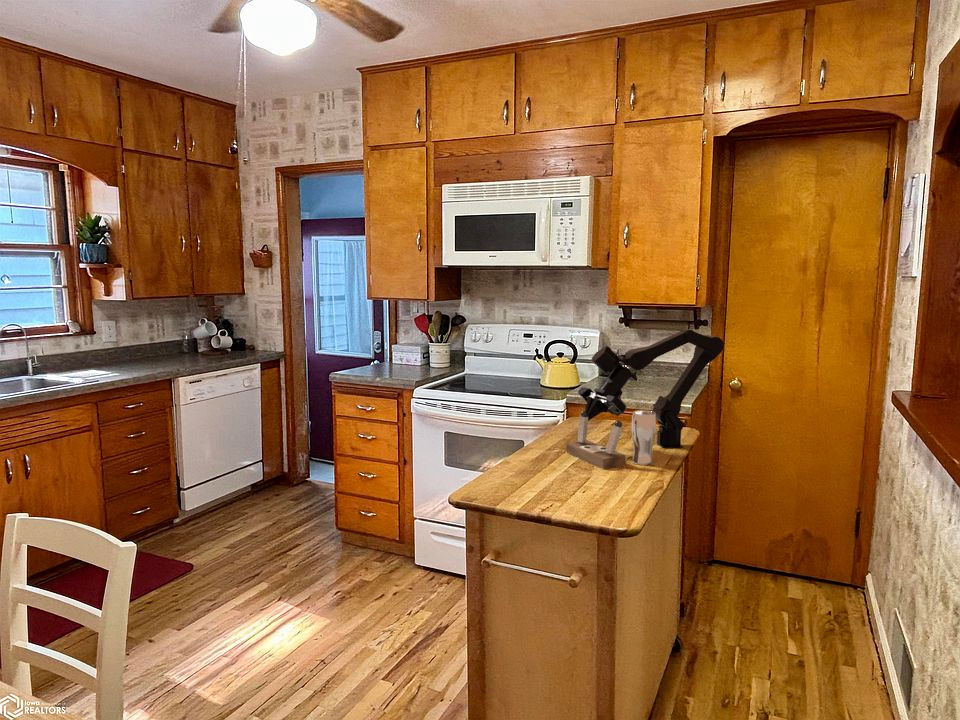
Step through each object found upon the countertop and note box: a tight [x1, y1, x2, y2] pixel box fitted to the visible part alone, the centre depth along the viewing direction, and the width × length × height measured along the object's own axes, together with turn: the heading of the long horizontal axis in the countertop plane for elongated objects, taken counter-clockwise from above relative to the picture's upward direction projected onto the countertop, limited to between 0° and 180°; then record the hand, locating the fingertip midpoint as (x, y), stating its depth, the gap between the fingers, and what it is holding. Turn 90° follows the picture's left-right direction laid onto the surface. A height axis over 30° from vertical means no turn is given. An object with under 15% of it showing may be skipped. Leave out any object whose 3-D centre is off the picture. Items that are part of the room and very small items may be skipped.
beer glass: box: [631, 409, 657, 466], centre depth 191 cm, size 7×7×15 cm
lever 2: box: [605, 420, 623, 454], centre depth 189 cm, size 2×3×10 cm
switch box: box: [565, 439, 627, 470], centre depth 196 cm, size 8×19×4 cm, turn 26°
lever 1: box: [577, 410, 589, 443], centre depth 201 cm, size 2×3×10 cm
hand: (585, 420), depth 202 cm, fingers closed, pressing on lever 1
